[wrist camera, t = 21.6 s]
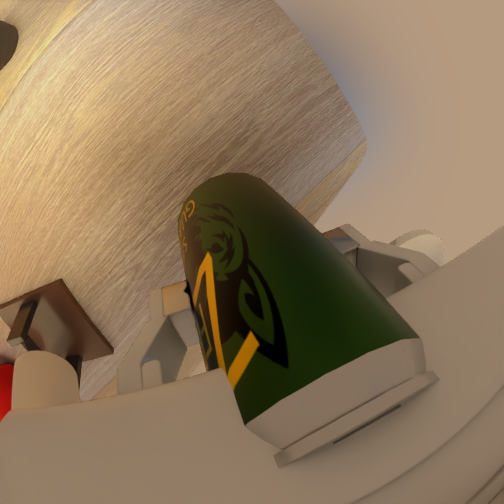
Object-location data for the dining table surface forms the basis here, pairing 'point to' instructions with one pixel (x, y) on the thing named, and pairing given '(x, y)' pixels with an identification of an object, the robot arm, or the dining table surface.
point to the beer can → (291, 320)
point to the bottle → (7, 42)
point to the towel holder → (42, 379)
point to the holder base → (55, 325)
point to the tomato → (6, 389)
